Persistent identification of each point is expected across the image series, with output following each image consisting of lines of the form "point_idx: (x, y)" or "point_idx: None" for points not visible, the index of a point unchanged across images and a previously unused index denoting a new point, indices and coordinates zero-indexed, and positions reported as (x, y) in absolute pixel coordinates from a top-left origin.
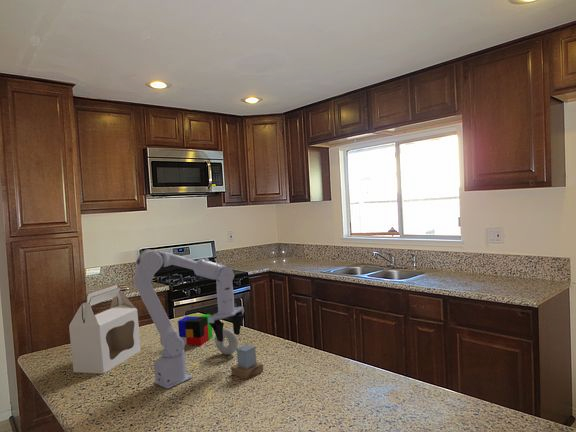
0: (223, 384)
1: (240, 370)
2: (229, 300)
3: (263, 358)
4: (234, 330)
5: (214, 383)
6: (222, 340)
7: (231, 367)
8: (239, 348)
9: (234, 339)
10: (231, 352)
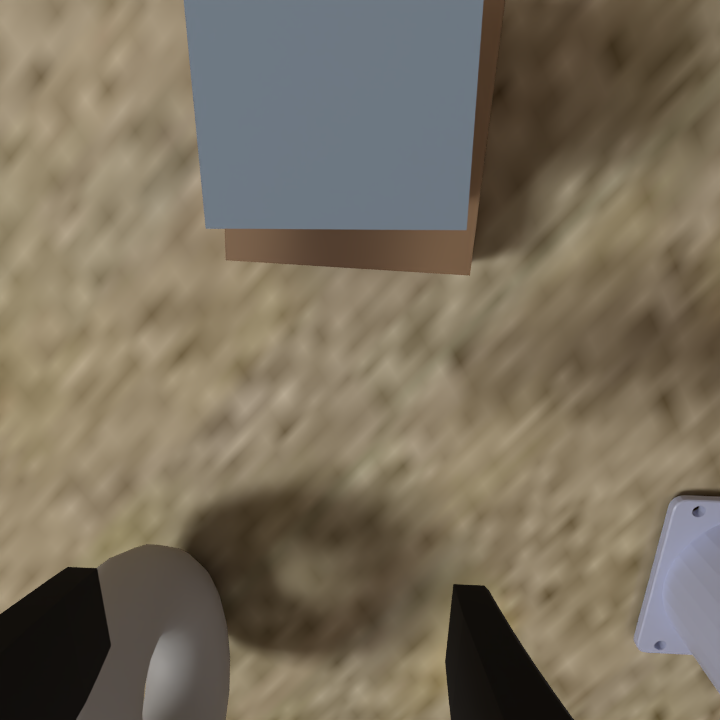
0: (665, 156)
1: (491, 96)
2: None
3: (35, 256)
4: (69, 703)
5: (679, 253)
6: (464, 592)
7: (469, 266)
8: (423, 175)
9: None
10: (186, 555)
